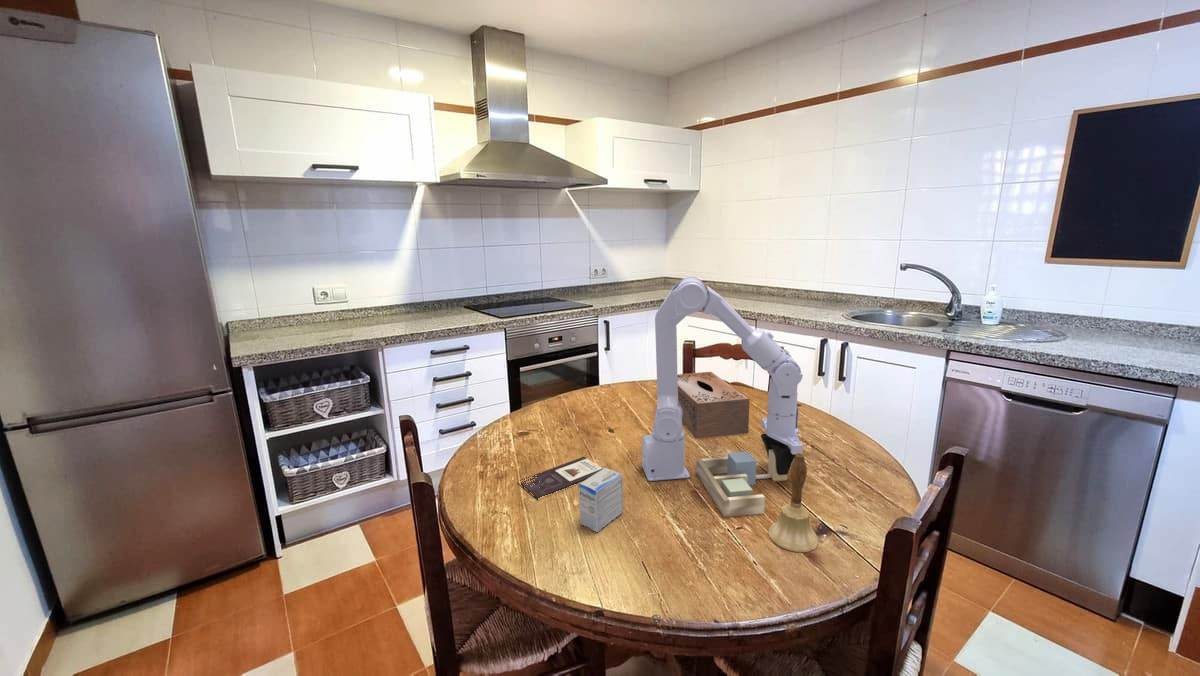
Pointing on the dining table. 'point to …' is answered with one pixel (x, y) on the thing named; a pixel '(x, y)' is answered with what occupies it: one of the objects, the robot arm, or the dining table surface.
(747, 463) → the corded block
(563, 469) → the chocolate bar
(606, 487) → the medicine box
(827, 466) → the dining table surface
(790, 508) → the hand bell
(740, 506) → the rack
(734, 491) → the plain block
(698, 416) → the tissue box cover
